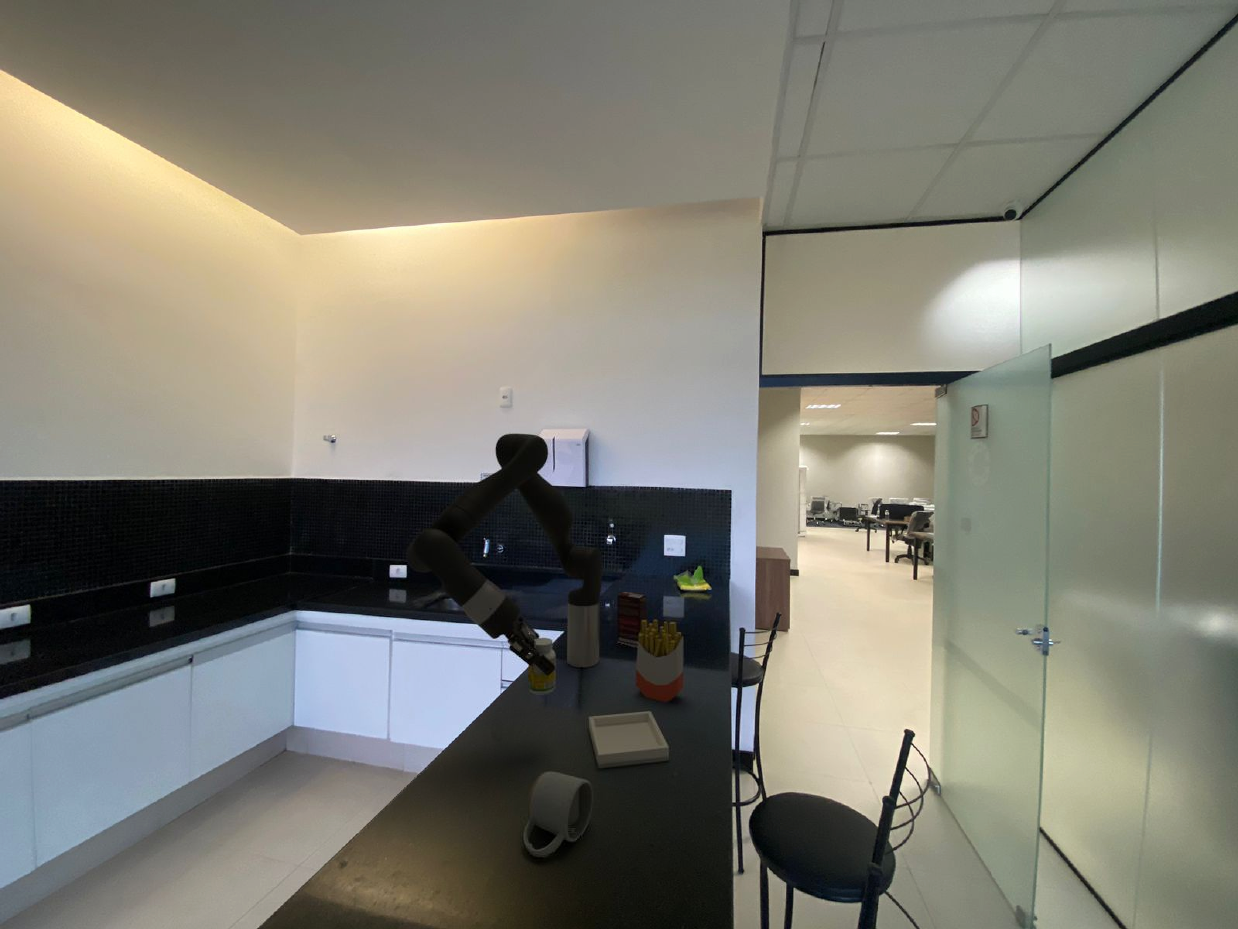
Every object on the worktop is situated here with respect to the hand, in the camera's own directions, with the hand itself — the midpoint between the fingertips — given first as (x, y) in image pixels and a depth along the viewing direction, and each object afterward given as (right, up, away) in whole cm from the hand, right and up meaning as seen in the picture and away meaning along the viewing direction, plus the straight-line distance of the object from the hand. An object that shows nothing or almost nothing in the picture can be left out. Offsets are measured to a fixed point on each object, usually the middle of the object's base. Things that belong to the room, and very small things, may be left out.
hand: (551, 664), depth 93 cm
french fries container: (+24, -17, +21) cm, 36 cm away
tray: (+15, -16, +1) cm, 22 cm away
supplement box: (+18, -17, +55) cm, 60 cm away
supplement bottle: (-2, -5, 0) cm, 5 cm away
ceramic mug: (+4, -16, -23) cm, 28 cm away
